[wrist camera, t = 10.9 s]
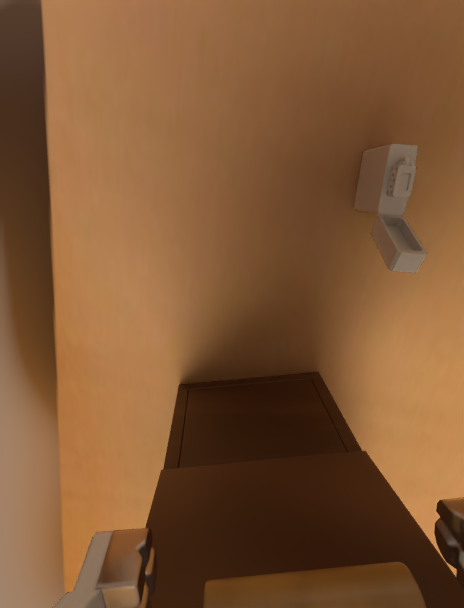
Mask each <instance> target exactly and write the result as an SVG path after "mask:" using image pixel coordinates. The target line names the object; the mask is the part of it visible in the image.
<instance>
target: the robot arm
mask: <svg viewBox="0 0 464 608" xmlns="http://www.w3.org/2000/svg"><path fill="white" fill-rule="evenodd" d="M436 511H437V512H438V514H439V515H440V518H439V519H438V520H437V522H436V523H435V537H436V542H437V545H438V547H439V550H440V552H441V554H442V556H443V557H444V559H445V561H446V562H447V563H449V564H450V565H452V566H453V567H454V568H456V569H457V575H456V579H457V580H458V582H459V583H460V585H461V587H462V588H463V590H464V497H463V498H453V499H444V500H440V501H439V502H438V503H437V510H436ZM152 541H153V535H152V531H151V528H142V529H127V530H114V531H101V532H96V533H95V535H94V536H93V537H92V540H91V543H90V546H89V548H88V551H87V554H86V557H85V560H84V562H83V565H82V568H81V571H80V574H79V576H78V579H77V582H76V585H75V588H74V590H73V592H67V593H66V594H65V595H64V597H62V599H61V600H60V601H59V602H58V603H57V604H56V605H55V606H54V607H53V608H152V604H151V599H150V596H151V594H152V593H153V592H154V590H155V586H156V579H157V557H156V551H155V549H154V548H153V547H152Z"/></svg>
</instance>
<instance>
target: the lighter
mask: <svg viewBox="0 0 464 608" xmlns="http://www.w3.org/2000/svg"><path fill="white" fill-rule="evenodd" d="M417 152H418V148H417V146H415V145H405V144H395V143H393V144H389V145H385V146H381V147H376V148H372V149H368V150H365V151H364V152H363V156H362V162H361V168H360V174H359V179H358V185H357V191H356V197H355V202H354V209H355V210H357V211H363V212H369V213H375V214H379V215H378V216H377V219H376V221H375V224H374V226H373V229H372V231H371V235H372V237H373V239H374V241H375V243H376V245H377V247H378V249H379V251H380V253H381V255H382V257H383V259H384V261H385V263H386V265H387V267H388V269H389V270H391V271H395V272H408V273H416V272H417V271H418V270H419V268H420V266H421V264H422V262H423V261H424V259H425V257H426V255H427V253H428V252H427V251H426V249H425V248H424V246H423V245H422V243H421V242H420V240H419V239H418V237H417V235H416V234H415V232H414V231H413V229H412V228H411V226H410V225H409V223H408V222H407V220H406V219H405V217H403V216H402V215H403V214H404V213H405V208H406V203H407V199H408V198H409V197H410V196H411V192H412V187H413V182H414V178H415V173H416V169H417V167H414V166H415V161H416V156H417Z"/></svg>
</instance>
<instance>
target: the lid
mask: <svg viewBox="0 0 464 608" xmlns="http://www.w3.org/2000/svg"><path fill="white" fill-rule="evenodd" d="M146 528H151V531H152V535H153V541H152V547H153V548H154V549H155V551H156V557H157V579H156V586H155V590H154V592H153V593H152V594H151V596H150V599H151V604H152V608H464V590H463V588H462V587H461V585H460V583H459V582H458V580H457V579H456V576H455V575H454V574H453V572H452V571H451V569H450V568H449V567H448V565H447V564H446V562H445V561H444V560H443V558H442V557H441V556H440V554H439V553H438V551H437V550H436V549H435V547H434V546H433V544H432V543H431V542H430V540H429V539H428V537H427V536H426V535H425V533H424V532H423V530H422V529H421V528H420V526H419V525H418V523H417V522H416V521H415V519H414V518H413V517H412V515H411V514H410V512H409V511H408V510H407V508H406V507H405V505H404V504H403V503H402V501H401V500H400V498H399V497H398V496H397V494H396V493H395V491H394V490H393V489H392V487H391V486H390V484H389V483H388V482H387V480H386V479H385V478H384V476H383V475H382V473H381V472H380V471H379V469H378V468H377V466H376V465H375V464H374V462H373V461H372V459H371V458H370V457H369V455H368V454H367V452H366V451H357V452H347V453H336V454H325V455H315V456H304V457H293V458H282V459H272V460H261V461H250V462H240V463H229V464H218V465H208V466H197V467H186V468H176V469H165V470H161V473H160V477H159V480H158V484H157V487H156V491H155V495H154V498H153V502H152V506H151V509H150V513H149V517H148V520H147V524H146Z"/></svg>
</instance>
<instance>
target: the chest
mask: <svg viewBox="0 0 464 608" xmlns="http://www.w3.org/2000/svg"><path fill="white" fill-rule="evenodd" d="M357 451H362V450H361V448H360V446H359V444H358V442H357V441H356V439H355V437H354V435H353V433H352V432H351V430H350V428H349V426H348V424H347V423H346V421H345V419H344V417H343V415H342V414H341V412H340V410H339V408H338V406H337V404H336V403H335V401H334V399H333V397H332V395H331V394H330V392H329V390H328V388H327V386H326V385H325V383H324V381H323V379H322V377H321V375H320V374H319V372H316V373H305V374H294V375H283V376H272V377H261V378H250V379H238V380H227V381H216V382H205V383H194V384H183V385H179V387H178V393H177V398H176V404H175V409H174V414H173V420H172V425H171V431H170V436H169V441H168V447H167V452H166V457H165V463H164V468H163V470H165V469H176V468H186V467H197V466H208V465H218V464H229V463H240V462H250V461H261V460H272V459H282V458H293V457H304V456H315V455H325V454H336V453H347V452H357Z"/></svg>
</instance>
